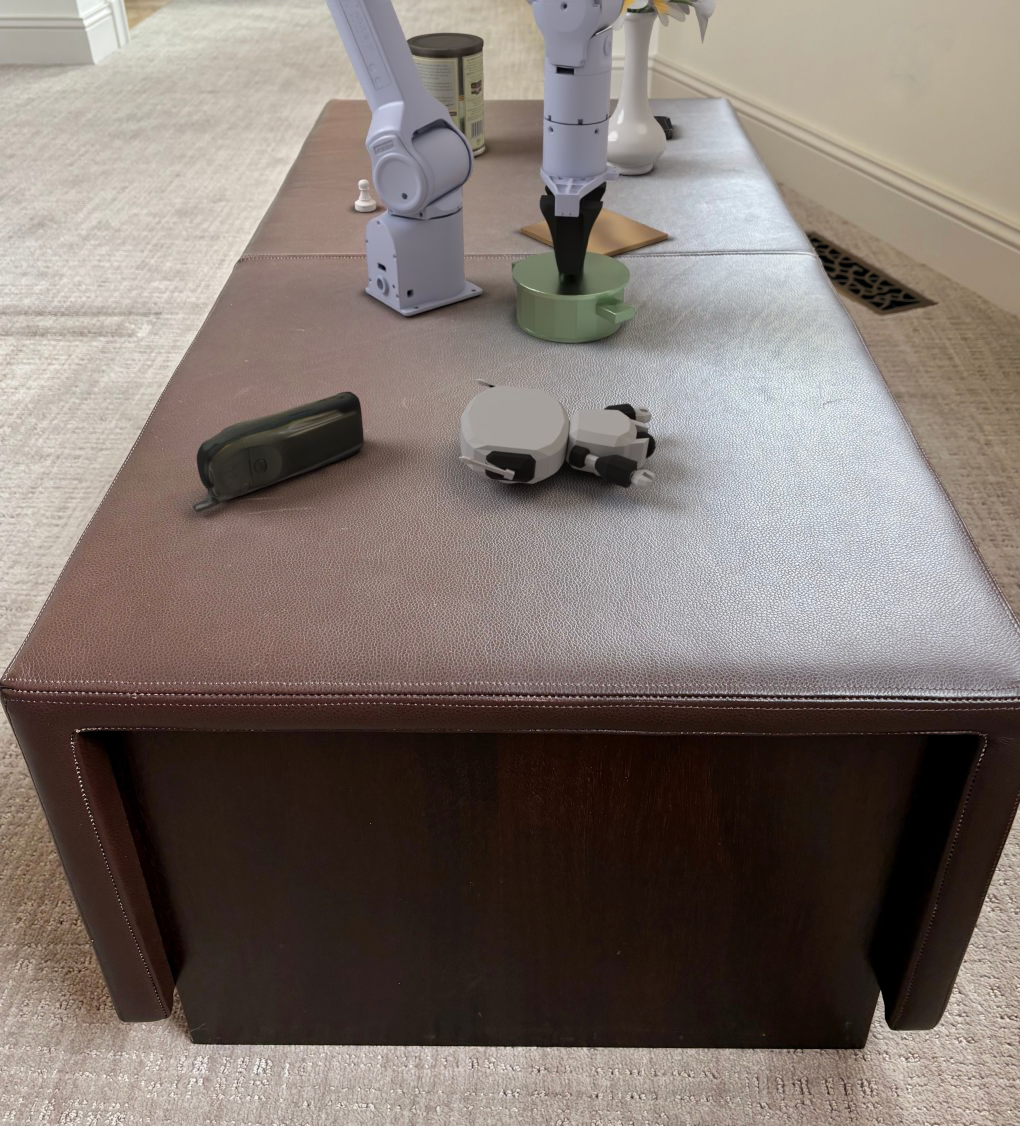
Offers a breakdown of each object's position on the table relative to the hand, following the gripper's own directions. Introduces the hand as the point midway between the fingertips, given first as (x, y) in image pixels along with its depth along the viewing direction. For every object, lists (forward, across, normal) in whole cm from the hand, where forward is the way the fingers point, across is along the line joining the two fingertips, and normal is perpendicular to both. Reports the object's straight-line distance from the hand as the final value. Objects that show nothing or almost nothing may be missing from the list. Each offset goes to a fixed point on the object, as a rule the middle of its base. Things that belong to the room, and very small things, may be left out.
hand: (571, 266), depth 101 cm
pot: (+5, 0, 0) cm, 5 cm away
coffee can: (+6, +54, +22) cm, 59 cm away
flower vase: (+6, +50, -4) cm, 50 cm away
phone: (+5, +66, -1) cm, 67 cm away
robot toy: (+6, -27, -1) cm, 28 cm away
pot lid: (+1, 0, 0) cm, 1 cm away
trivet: (+5, +23, -1) cm, 24 cm away
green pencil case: (+6, -31, +19) cm, 37 cm away
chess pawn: (+6, +29, +28) cm, 40 cm away
